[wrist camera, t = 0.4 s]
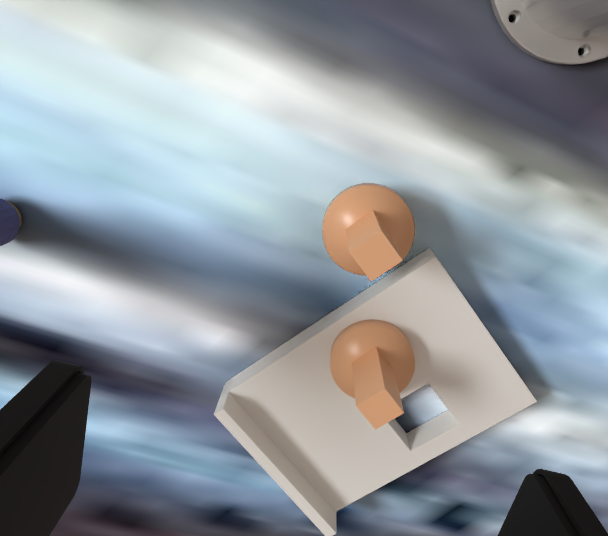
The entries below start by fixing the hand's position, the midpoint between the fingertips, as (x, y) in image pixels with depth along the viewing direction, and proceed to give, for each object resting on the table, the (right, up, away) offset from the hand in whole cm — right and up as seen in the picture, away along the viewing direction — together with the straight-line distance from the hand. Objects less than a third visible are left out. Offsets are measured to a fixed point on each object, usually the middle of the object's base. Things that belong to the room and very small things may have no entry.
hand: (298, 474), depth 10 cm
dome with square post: (+5, +8, +30) cm, 32 cm away
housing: (+6, -6, +35) cm, 36 cm away
